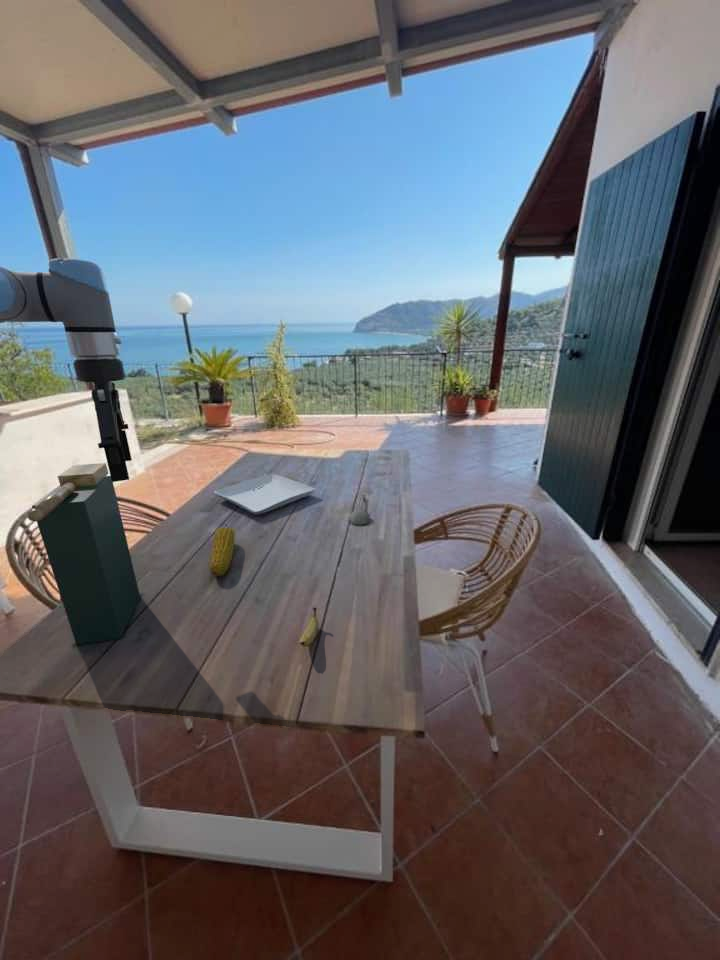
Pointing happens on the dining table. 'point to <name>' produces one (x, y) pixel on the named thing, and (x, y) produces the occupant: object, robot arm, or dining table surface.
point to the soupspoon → (359, 515)
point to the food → (222, 551)
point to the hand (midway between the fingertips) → (122, 470)
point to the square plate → (264, 493)
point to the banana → (310, 631)
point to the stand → (91, 561)
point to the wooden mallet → (69, 487)
